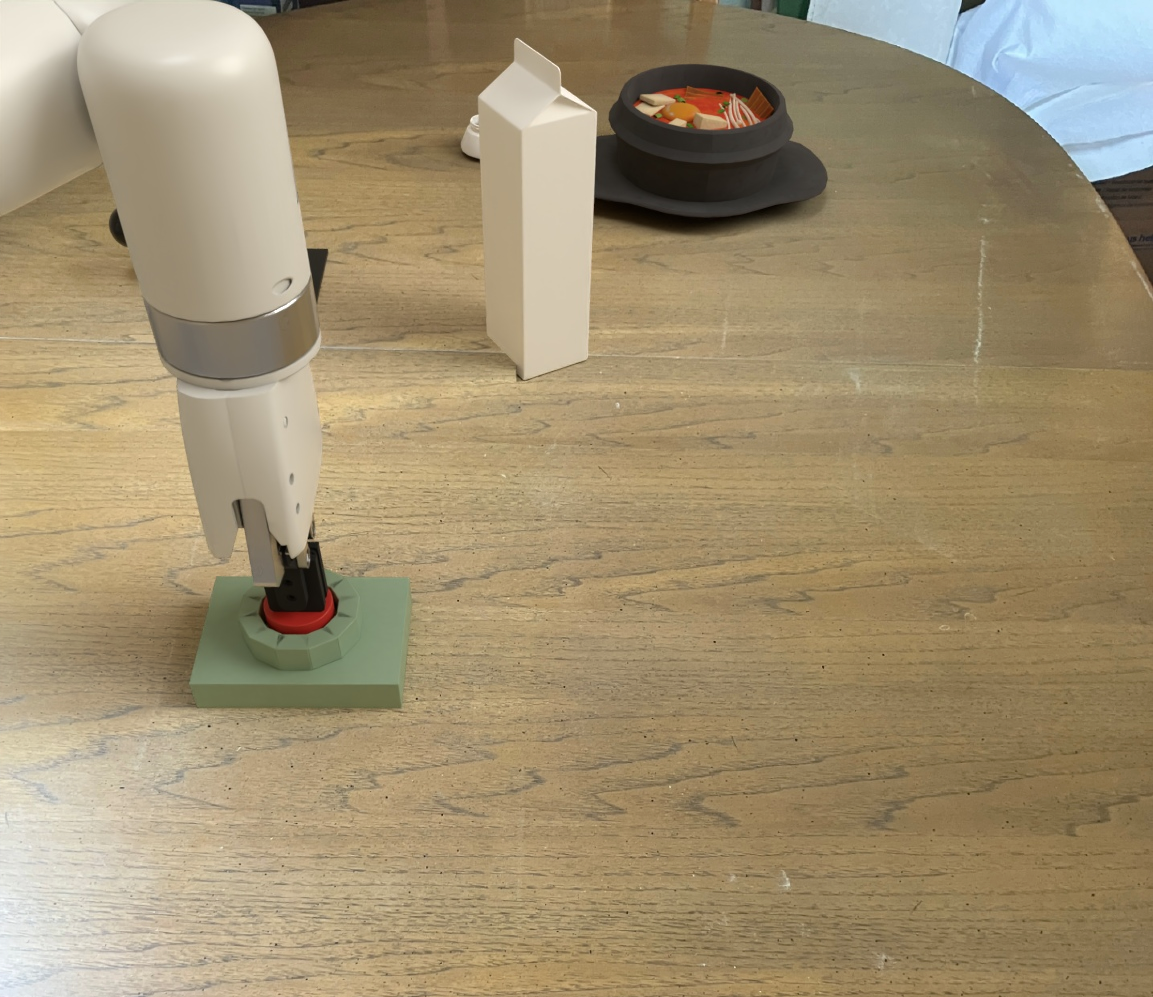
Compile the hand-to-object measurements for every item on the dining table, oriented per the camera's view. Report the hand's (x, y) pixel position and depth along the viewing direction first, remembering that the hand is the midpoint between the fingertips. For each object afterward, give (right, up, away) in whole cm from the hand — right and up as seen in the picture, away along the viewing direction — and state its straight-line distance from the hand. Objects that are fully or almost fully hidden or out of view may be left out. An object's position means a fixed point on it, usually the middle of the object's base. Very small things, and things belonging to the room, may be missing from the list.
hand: (299, 602), depth 67 cm
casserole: (+27, +44, +43) cm, 68 cm away
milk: (+13, +23, +25) cm, 36 cm away
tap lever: (-15, +34, +25) cm, 44 cm away
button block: (0, -3, +3) cm, 4 cm away
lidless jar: (+7, +50, +47) cm, 69 cm away
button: (0, -1, +1) cm, 2 cm away
